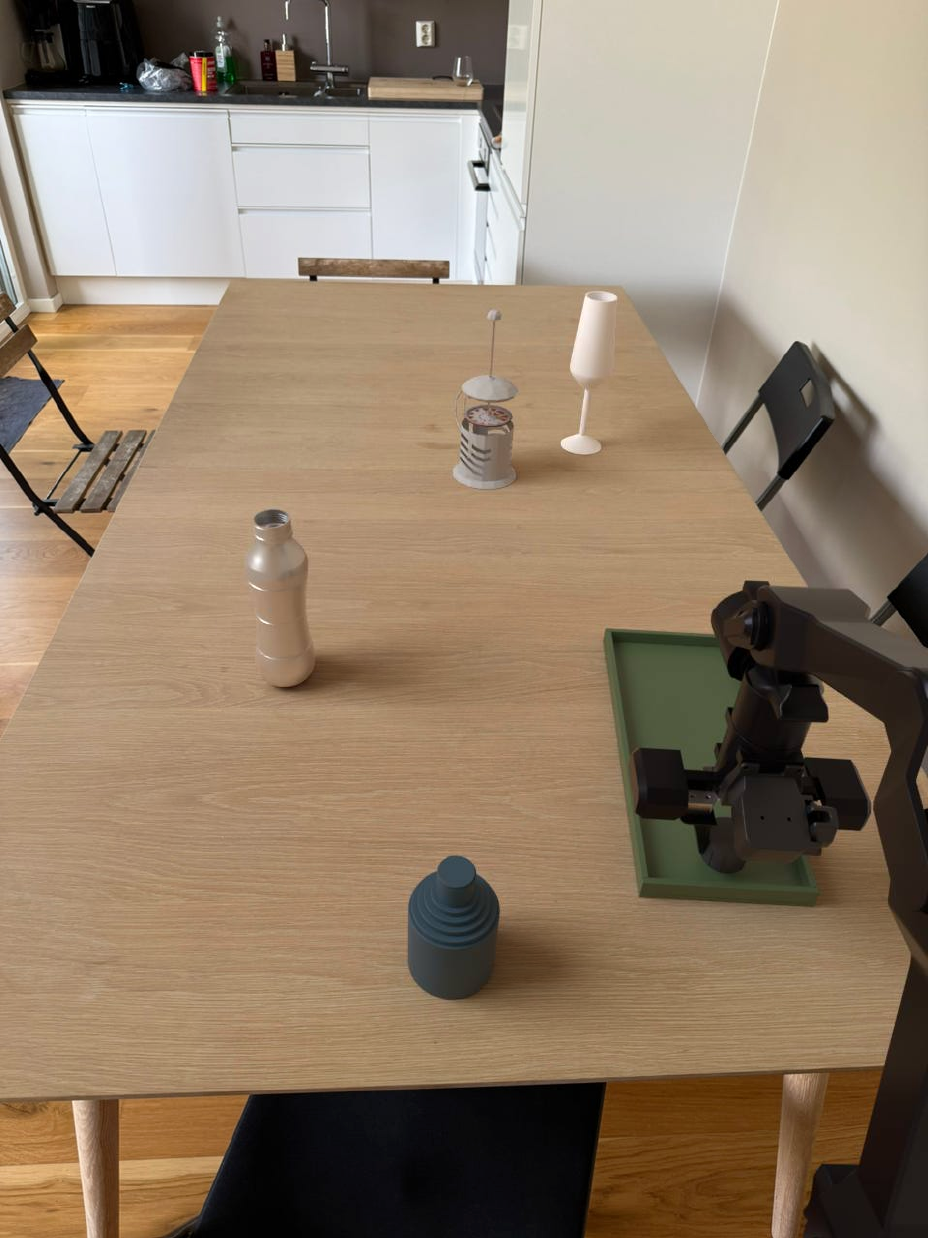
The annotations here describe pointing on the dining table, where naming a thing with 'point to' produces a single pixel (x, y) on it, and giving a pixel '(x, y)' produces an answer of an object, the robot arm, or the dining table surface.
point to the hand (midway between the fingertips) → (723, 851)
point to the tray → (693, 723)
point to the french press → (486, 430)
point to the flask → (452, 930)
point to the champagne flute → (592, 360)
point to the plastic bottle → (279, 600)
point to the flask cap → (722, 848)
